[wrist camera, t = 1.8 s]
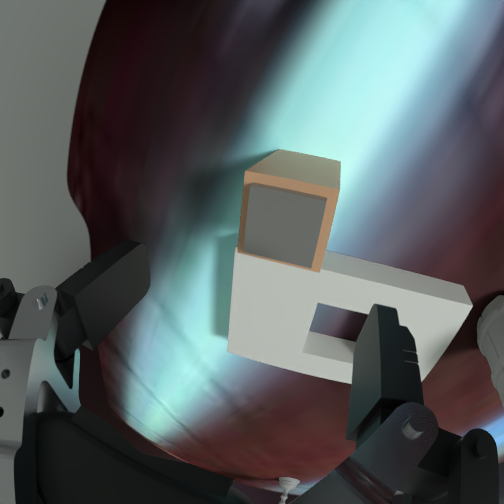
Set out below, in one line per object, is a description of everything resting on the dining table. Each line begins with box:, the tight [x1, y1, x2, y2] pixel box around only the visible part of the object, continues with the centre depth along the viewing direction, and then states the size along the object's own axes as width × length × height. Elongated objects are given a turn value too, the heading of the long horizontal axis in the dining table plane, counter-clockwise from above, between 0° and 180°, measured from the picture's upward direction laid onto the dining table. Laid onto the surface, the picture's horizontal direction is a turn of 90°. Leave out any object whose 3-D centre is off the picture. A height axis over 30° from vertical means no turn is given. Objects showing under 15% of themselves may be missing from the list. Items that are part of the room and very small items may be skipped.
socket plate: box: [227, 245, 473, 384], centre depth 24 cm, size 12×20×3 cm, turn 83°
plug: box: [237, 149, 341, 273], centre depth 17 cm, size 5×5×9 cm
